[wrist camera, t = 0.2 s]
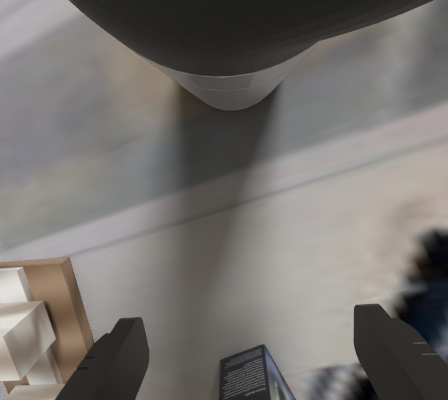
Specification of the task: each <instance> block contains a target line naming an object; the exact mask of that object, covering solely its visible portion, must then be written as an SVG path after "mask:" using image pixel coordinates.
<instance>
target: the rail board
mask: <svg viewBox="0 0 448 400" xmlns="http://www.w3.org/2000/svg"><path fill="white" fill-rule="evenodd" d="M93 344H94V341H93V337H92V334H91V330H90V327H89V324H88V320H87V317H86V313H85V310H84V306H83V303H82V300H81V296H80V293H79V289H78V286H77V283H76V279H75V276H74V272H73V269H72V266H71V262H70V259H69V257H67V258H54V259H41V260H28V261H15V262H2V263H0V381H3V382H4V385H5V387H6V389H7V392H8V396H7V397H6V398H5V399H4V400H55V398H56V397H57V395H58V394H59V393H60V391H61V390H62V388H63V387H64V385H65V384H66V383H67V381H68V380H69V378H70V377H71V375H72V374H73V372H74V371H75V370H77V367H78V365H79V364H80V362H81V361H82V360H83V359H84V357H85V355H86V354H87V352H88V351H89V349H90V348H91V347H92V345H93Z"/></svg>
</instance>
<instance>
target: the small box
mask: <svg viewBox="0 0 448 400" xmlns="http://www.w3.org/2000/svg"><path fill="white" fill-rule="evenodd" d="M219 400H296V399H295V397H294V396H293V394H292V392H291V390H290V389H289V387H288V385H287V383H286V381H285V380H284V378H283V376H282V374H281V373H280V371H279V369H278V367H277V366H276V364H275V362H274V360H273V359H272V357H271V355H270V353H269V351H268V350H267V348H266V346H265V345H264V344H263V345H260V346H257V347H255V348H252V349H249V350H247V351H244V352H241V353H238V354H236V355H233V356H231V357H228V358H225V359H223V360H221V361H220V382H219Z"/></svg>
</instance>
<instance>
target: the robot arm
mask: <svg viewBox="0 0 448 400" xmlns="http://www.w3.org/2000/svg"><path fill="white" fill-rule="evenodd" d="M69 1H70V2H72V3H73V4H74V5H75V6H76V7H77V8H78V9H79V10H80V11H81V12H83V13H84V14H85V15H86V16H87V17H89V18H90V19H91V20H92V21H94V22H95V23H96V24H97V25H99V26H100V27H101V28H103V29H104V30H105V31H107V32H108V33H109V34H111V35H112V36H113V37H115V38H116V39H117V40H119V41H120V42H122V43H123V44H124V45H125V46H127V47H128V48H130V49H131V50H132V51H134V52H135V53H136V54H138V55H139V56H141V57H142V58H143V59H145V60H146V61H148V62H149V63H150V64H152V65H153V66H154V67H156V68H158V69H159V70H160V71H162V72H163V73H164V74H166V75H167V76H169V77H170V78H171V79H173V80H174V81H175V82H177V83H178V84H180V85H181V86H182V87H184V88H185V89H186V90H188V91H189V92H191V93H192V94H193V95H195V96H196V97H197V98H199V99H200V100H202V101H203V102H204V103H206V104H208V105H210V106H211V107H214V108H217V109H221V110H226V111H237V110H241V109H246V108H249V107H251V106H253V105H255V104H257V103H258V102H260V101H262V99H264V98H265V97H266V96H267V95H268V94H269V93H270V92H271V91H272V90H273V89H274V88H275V87H276V86H277V85H278V84H279V83H280V82H281V81H282V80H283V79H284V78H285V77H286V76H287V75H288V74H289V73H290V72H291V71H292V70H293V69H294V68H295V67H296V66H297V65H298V64H299V63H300V62H301V61H302V60H303V59H304V58H305V57H306V56H307V55H308V54H309V53H310V52H311V51H312V50H313V49H314V48H315V47H316V46H317V45H318V44H319V43H320V42H321V41H322V40H324V39H328V38H331V37H335V36H338V35H341V34H345V33H348V32H352V31H355V30H358V29H361V28H364V27H367V26H370V25H373V24H376V23H379V22H381V21H384V20H387V19H389V18H392V17H395V16H397V15H400V14H403V13H405V12H407V11H410V10H412V9H414V8H417V7H419V6H421V5H424V4H426V3H428V2H431V1H433V0H69ZM354 346H355V351H356V354H357V357H358V359H359V361H360V363H361V365H362V367H363V369H364V371H365V372H366V374H367V376H368V378H369V380H370V382H371V384H372V385H373V387H374V389H375V391H376V393H377V395H378V396H379V398H380V400H448V365H447V364H446V363H445V361H444V360H443V359H442V358H441V357H440V356H439V355H437V354H436V352H435V351H434V349H433V348H432V347H431V346H430V345H429V344H427V343H426V341H425V340H424V339H423V337H422V336H421V335H420V334H419V333H418V332H417V331H416V330H415V329H414V328H413V327H411V326H410V325H408V324H407V323H405V322H403V321H402V320H400V319H399V318H391V317H390V316H389V315H388V314H387V313H386V311H385V310H384V309H383V308H382V307H381V306H380V305H379V304H363V305H355V307H354ZM148 363H149V348H148V343H147V338H146V333H145V329H144V324H143V320H142V318H141V317H135V318H121V319H119V321H118V322H117V324H116V325H115V327H114V328H113V330H112V331H111V333H106V334H105V335H103V336H102V337H101V338H100V339H99V340H98V341H96V342H95V343H94V344H93V345H92V347H91V348H90V349H89V351H88V352H87V354H86V355H85V357H84V359H83V360H82V361H81V362H80V364H79V365H78V367H77V370H75V371H74V372H73V374H72V375H71V377H70V378H69V380H68V381H67V383H66V384H65V385H64V387H63V388H62V390H61V391H60V393H59V394H58V395H57V397H56V398H55V400H135V399H136V396H137V393H138V391H139V388H140V386H141V383H142V381H143V378H144V375H145V373H146V370H147V367H148Z"/></svg>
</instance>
